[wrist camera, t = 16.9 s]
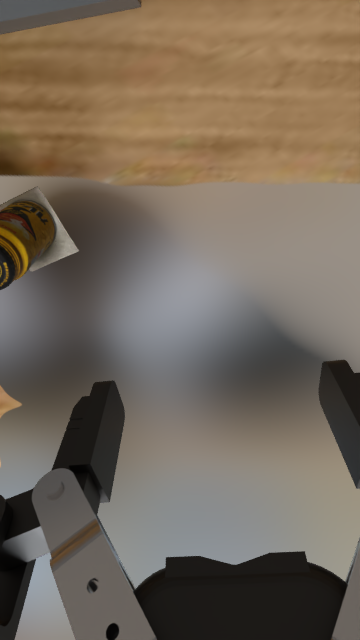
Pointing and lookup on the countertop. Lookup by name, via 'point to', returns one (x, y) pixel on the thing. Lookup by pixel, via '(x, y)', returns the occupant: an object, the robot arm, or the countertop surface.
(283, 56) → the countertop surface
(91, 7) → the gray slotted block
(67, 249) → the condiment
